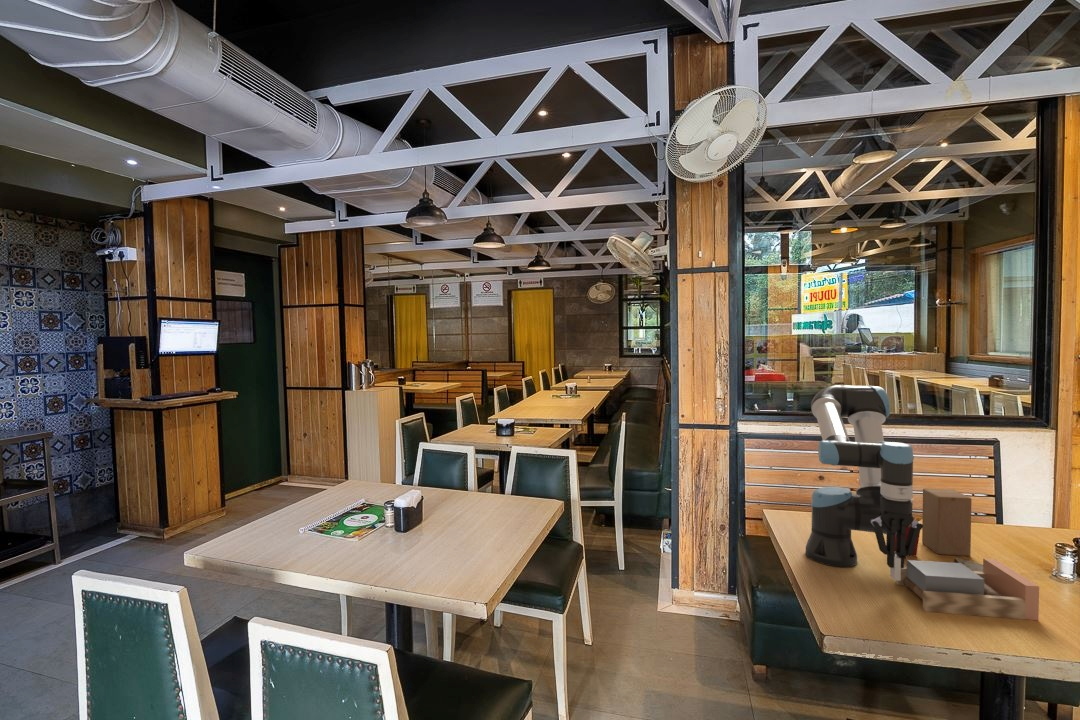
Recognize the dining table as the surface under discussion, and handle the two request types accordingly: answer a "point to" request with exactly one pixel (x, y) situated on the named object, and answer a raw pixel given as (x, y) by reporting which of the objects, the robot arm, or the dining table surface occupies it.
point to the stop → (1012, 586)
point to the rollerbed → (968, 601)
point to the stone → (970, 564)
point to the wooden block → (946, 522)
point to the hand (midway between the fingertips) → (895, 578)
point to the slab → (944, 577)
